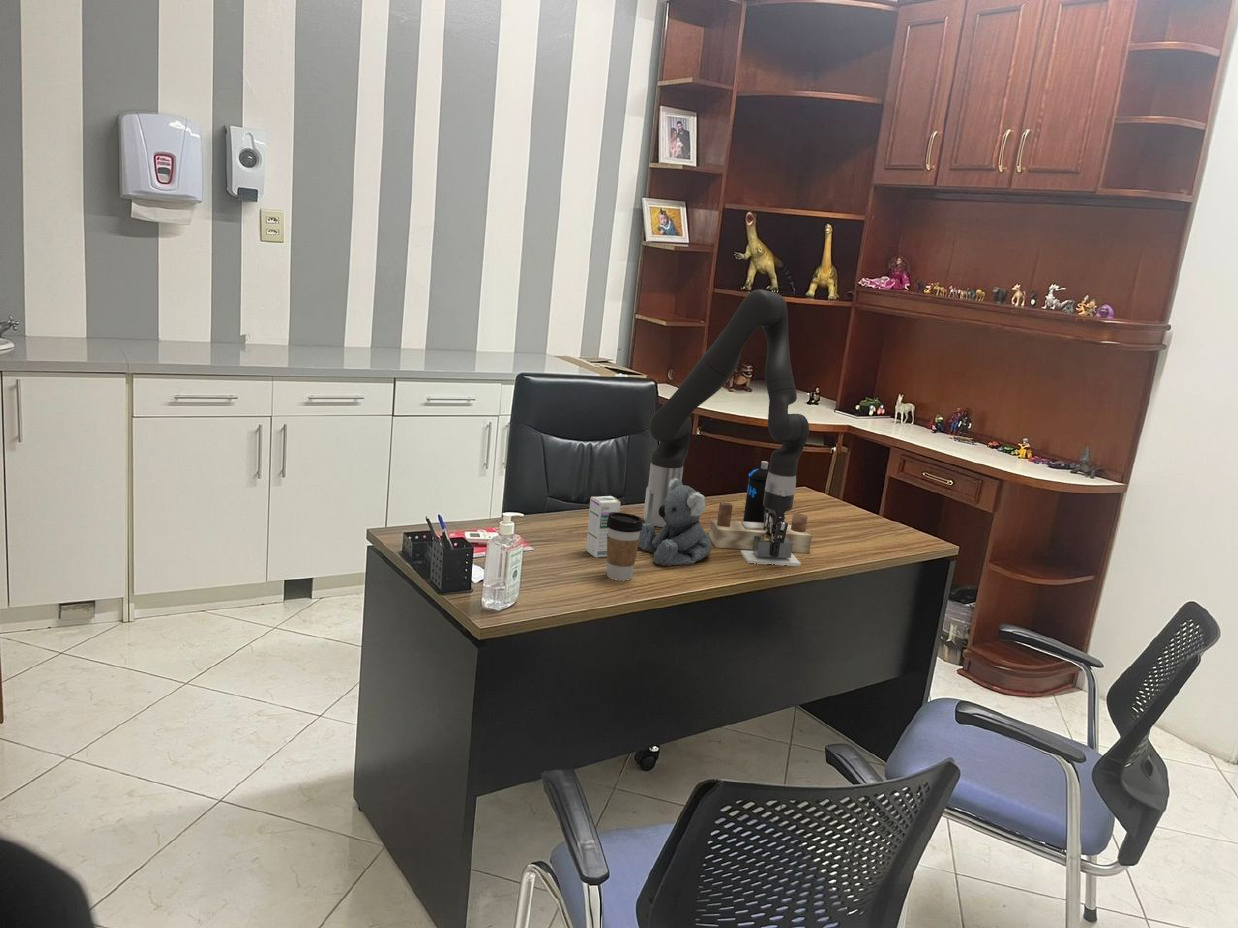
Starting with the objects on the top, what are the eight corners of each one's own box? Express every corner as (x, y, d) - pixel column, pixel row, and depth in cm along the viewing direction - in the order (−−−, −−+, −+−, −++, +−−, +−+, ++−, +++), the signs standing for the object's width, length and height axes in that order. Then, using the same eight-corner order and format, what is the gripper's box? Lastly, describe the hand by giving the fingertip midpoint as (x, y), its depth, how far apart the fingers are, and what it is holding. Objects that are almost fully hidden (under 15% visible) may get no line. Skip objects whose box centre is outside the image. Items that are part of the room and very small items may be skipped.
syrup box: (595, 558, 237) (600, 502, 233) (585, 550, 242) (590, 495, 238) (615, 556, 239) (621, 501, 236) (605, 549, 244) (610, 494, 241)
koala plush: (631, 545, 249) (639, 473, 245) (693, 543, 256) (701, 473, 252) (658, 568, 234) (667, 492, 229) (723, 566, 241) (733, 491, 236)
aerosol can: (769, 526, 279) (778, 460, 275) (770, 534, 271) (780, 466, 267) (741, 523, 280) (749, 457, 275) (741, 531, 272) (750, 463, 267)
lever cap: (757, 556, 246) (759, 538, 245) (752, 550, 251) (754, 532, 250) (790, 558, 247) (793, 540, 246) (785, 552, 252) (787, 534, 251)
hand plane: (715, 547, 255) (720, 508, 252) (708, 536, 264) (713, 498, 261) (809, 553, 258) (815, 514, 256) (799, 542, 267) (805, 504, 264)
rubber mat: (747, 563, 245) (748, 560, 244) (740, 553, 252) (740, 550, 252) (800, 566, 246) (800, 563, 246) (791, 556, 254) (791, 553, 254)
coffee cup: (600, 569, 229) (606, 509, 226) (635, 571, 230) (641, 512, 227) (602, 581, 221) (608, 520, 218) (638, 584, 222) (645, 522, 218)
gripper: (758, 482, 251) (750, 543, 255) (773, 496, 238) (764, 561, 242) (786, 483, 252) (777, 544, 256) (802, 498, 239) (792, 563, 242)
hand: (770, 552), depth 249 cm, fingers closed on lever cap, 5 cm apart
